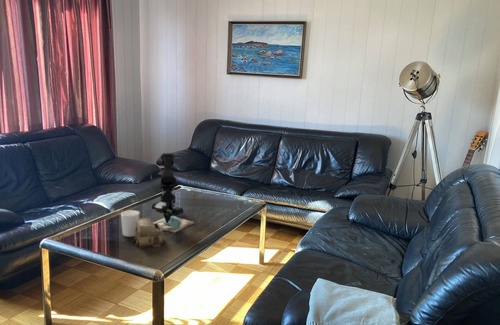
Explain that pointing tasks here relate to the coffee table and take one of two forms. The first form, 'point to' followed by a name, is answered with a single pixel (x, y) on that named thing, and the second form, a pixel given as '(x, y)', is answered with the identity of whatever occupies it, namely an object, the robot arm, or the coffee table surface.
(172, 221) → the flange
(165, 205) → the robot arm
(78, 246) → the coffee table surface
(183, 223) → the post board
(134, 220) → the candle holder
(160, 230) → the miniature house
